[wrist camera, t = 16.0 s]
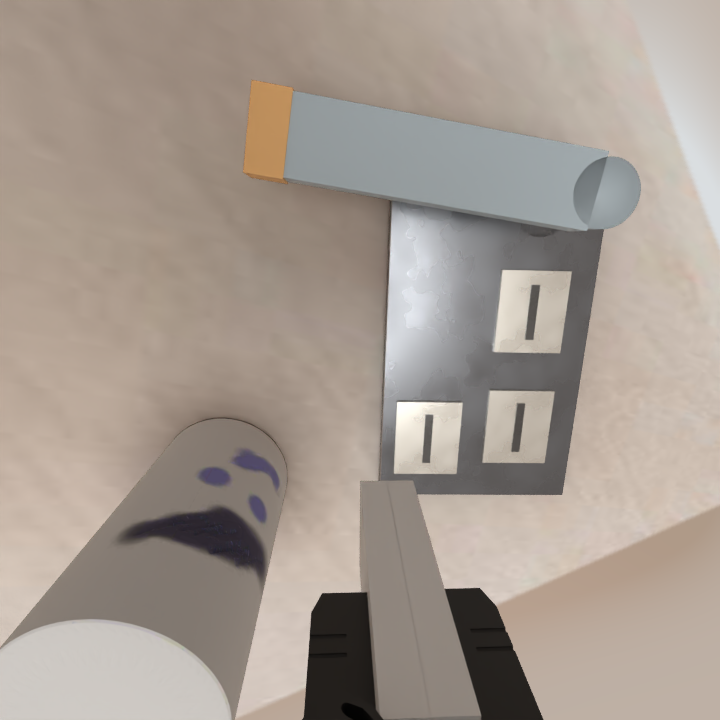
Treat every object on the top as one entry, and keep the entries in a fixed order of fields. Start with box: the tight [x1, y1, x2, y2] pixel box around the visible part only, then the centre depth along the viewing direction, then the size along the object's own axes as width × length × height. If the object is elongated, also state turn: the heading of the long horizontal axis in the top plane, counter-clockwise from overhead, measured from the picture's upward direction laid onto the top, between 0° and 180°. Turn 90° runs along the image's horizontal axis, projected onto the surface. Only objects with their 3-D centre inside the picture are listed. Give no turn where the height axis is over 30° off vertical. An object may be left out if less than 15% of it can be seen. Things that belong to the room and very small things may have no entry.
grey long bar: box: [243, 80, 641, 231], centre depth 24 cm, size 21×4×2 cm, turn 81°
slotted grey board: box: [379, 200, 604, 495], centre depth 35 cm, size 24×15×2 cm, turn 178°
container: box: [0, 419, 287, 720], centre depth 28 cm, size 10×10×20 cm
